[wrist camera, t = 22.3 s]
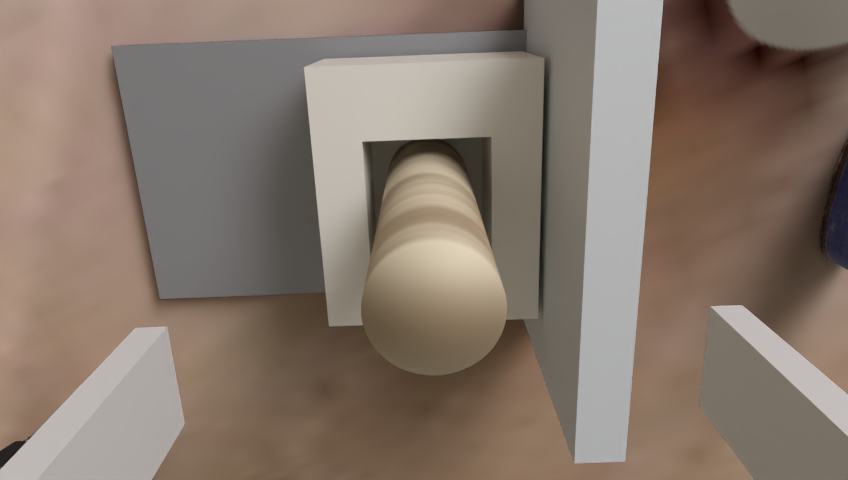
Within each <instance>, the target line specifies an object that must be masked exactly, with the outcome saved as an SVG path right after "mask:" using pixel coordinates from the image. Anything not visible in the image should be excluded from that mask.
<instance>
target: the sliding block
mask: <svg viewBox="0 0 848 480" xmlns="http://www.w3.org/2000/svg"><path fill="white" fill-rule="evenodd" d="M304 73H305V84H306V94H307V104H308V115H309V125H310V136H311V146H312V156H313V167H314V177H315V187H316V198H317V208H318V218H319V229H320V239H321V249H322V260H323V270H324V280H325V291H326V301H327V312H328V322H329V326H356V325H363V323H362V317H361V302H362V296H363V291H364V286H365V281H366V276H367V272H368V267H369V262H370V257H371V252H372V247H373V243H374V238H375V233H376V228H377V223H378V219H379V214H380V209H381V204H382V199H383V194H384V190H385V185H386V180H387V175H388V170H389V166H390V163H391V160H392V158H393V156H394V155H395V153H396V152H397V151H398V150H399V149H400V148H401V147H402V146H403V145H404V144H406V143H407V142H409V141H411V140H419V139H441V140H443V141H445V142H447V143H449V144H450V145H452V146H453V147H454V148H455V149H456V150H457V151H458V152H459V154H460V155H461V157H462V159H463V161H464V164H465V167H466V171H467V174H468V177H469V180H470V183H471V186H472V190H473V193H474V196H475V199H476V202H477V205H478V209H479V212H480V215H481V218H482V221H483V224H484V228H485V231H486V234H487V237H488V240H489V243H490V247H491V250H492V253H493V256H494V259H495V262H496V266H497V269H498V272H499V275H500V278H501V281H502V285H503V288H504V291H505V295H506V300H507V317H506V320H514V319H538V296H539V256H540V217H541V177H542V137H543V97H544V57H540V56H537V55H533V54H530V53H527V52H523V51H512V52H486V53H461V54H435V55H410V56H384V57H358V58H333V59H322V60H320V61H318V62H315V63H313V64H310V65H308V66H305V67H304Z"/></svg>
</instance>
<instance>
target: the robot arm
mask: <svg viewBox="0 0 848 480" xmlns="http://www.w3.org/2000/svg"><path fill="white" fill-rule="evenodd" d="M699 406H700V408H701V409H702V410H703V412H704V413H705V414H706V416H707V417H708V418H709V420H710V421H711V422H712V424H713V425H714V426H715V428H716V429H717V430H718V432H719V433H720V434H721V436H722V437H723V438H724V440H725V441H726V442H727V444H728V445H729V446H730V448H731V449H732V450H733V452H734V453H735V454H736V456H737V457H738V458H739V460H740V461H741V462H742V464H743V465H744V466H745V468H746V469H747V470H748V472H749V473H750V474H751V476H752V477H753V478H754V480H848V394H846V393H845V392H844V391H843V390H842V389H840V388H839V387H838V386H837V385H836V384H835V383H833V382H832V381H831V380H830V379H829V378H828V377H826V376H825V375H824V374H823V373H822V372H820V371H819V370H818V369H817V368H816V367H815V366H813V365H812V364H811V363H810V362H809V361H807V360H806V359H805V358H804V357H803V356H802V355H800V354H799V353H798V352H797V351H796V350H794V349H793V348H792V347H791V346H790V345H789V344H787V343H786V342H785V341H784V340H783V339H782V338H780V337H779V336H778V335H777V334H776V333H774V332H773V331H772V330H771V329H770V328H769V327H767V326H766V325H765V324H764V323H763V322H761V321H760V320H759V319H758V318H757V317H756V316H754V315H753V314H752V313H751V312H750V311H749V310H747V309H746V308H745V307H744V306H743V305H732V306H710V314H709V322H708V331H707V339H706V348H705V357H704V365H703V374H702V383H701V391H700V400H699ZM184 425H185V422H184V416H183V411H182V405H181V400H180V394H179V389H178V383H177V378H176V373H175V367H174V362H173V356H172V351H171V345H170V340H169V334H168V329H167V327H144V328H135V329H134V330H133V331H132V332H131V333H130V334H129V335H128V336H127V337H126V338H125V339H124V340H123V341H122V342H121V344H120V345H119V346H118V347H117V348H116V349H115V350H114V351H113V352H112V353H111V354H110V355H109V356H108V357H107V358H106V359H105V360H104V361H103V362H102V363H101V365H100V366H99V367H98V368H97V369H96V370H95V371H94V372H93V373H92V374H91V375H90V376H89V377H88V378H87V379H86V380H85V381H84V382H83V383H82V384H81V385H80V387H79V388H78V389H77V390H76V391H75V392H74V393H73V394H72V395H71V396H70V397H69V398H68V399H67V400H66V401H65V402H64V403H63V404H62V405H61V406H60V407H59V409H58V410H57V411H56V412H55V413H54V414H53V415H52V416H51V417H50V418H49V419H48V420H47V421H46V422H45V423H44V424H43V425H42V426H41V427H40V428H39V429H38V431H37V432H36V433H35V434H34V435H33V436H32V437H31V438H30V439H29V440H28V441H15V442H14V443H12V444H11V445H9V446H7V447H6V448H4V449H3V450H1V451H0V480H152V479H153V477H154V475H155V474H156V472H157V470H158V469H159V467H160V465H161V464H162V462H163V460H164V459H165V457H166V455H167V454H168V452H169V450H170V449H171V447H172V445H173V444H174V442H175V440H176V438H177V437H178V435H179V433H180V432H181V430H182V428H183V427H184Z"/></svg>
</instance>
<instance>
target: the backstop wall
mask: <svg viewBox="0 0 848 480" xmlns="http://www.w3.org/2000/svg"><path fill="white" fill-rule="evenodd" d="M662 9H663V0H524V30H503V31H477V32H452V33H426V34H401V35H375V36H349V37H324V38H298V39H273V40H247V41H222V42H196V43H171V44H145V45H120V46H111V47H112V53H113V58H114V63H115V68H116V73H117V79H118V84H119V89H120V94H121V99H122V105H123V110H124V115H125V120H126V126H127V131H128V136H129V141H130V146H131V152H132V157H133V162H134V167H135V172H136V178H137V183H138V188H139V193H140V198H141V204H142V209H143V214H144V219H145V224H146V230H147V235H148V240H149V245H150V250H151V256H152V261H153V266H154V271H155V277H156V282H157V287H158V292H159V297H160V299H175V298H201V297H227V296H253V295H280V294H306V293H326V291H325V280H324V270H323V260H322V249H321V239H320V229H319V218H318V208H317V198H316V187H315V177H314V167H313V156H312V146H311V136H310V125H309V115H308V104H307V94H306V84H305V73H304V67H305V66H308V65H310V64H313V63H315V62H318V61H320V60H322V59H333V58H358V57H384V56H410V55H435V54H461V53H486V52H512V51H523V52H527V53H530V54H533V55H537V56H540V57H544V97H543V137H542V177H541V217H540V256H539V296H538V319H523V320H524V323H525V326H526V329H527V332H528V334H529V337H530V340H531V343H532V346H533V348H534V351H535V354H536V357H537V360H538V363H539V365H540V368H541V371H542V374H543V377H544V379H545V382H546V385H547V388H548V391H549V394H550V396H551V399H552V402H553V405H554V408H555V410H556V413H557V416H558V419H559V422H560V425H561V427H562V430H563V433H564V436H565V439H566V441H567V444H568V447H569V450H570V453H571V456H572V458H573V461H574V463H598V462H625V457H626V445H627V433H628V421H629V409H630V397H631V385H632V372H633V360H634V348H635V336H636V324H637V312H638V300H639V288H640V276H641V264H642V251H643V239H644V227H645V215H646V203H647V191H648V179H649V167H650V155H651V142H652V130H653V118H654V106H655V94H656V82H657V70H658V58H659V46H660V34H661V21H662Z"/></svg>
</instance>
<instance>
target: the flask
mask: <svg viewBox="0 0 848 480" xmlns="http://www.w3.org/2000/svg"><path fill="white" fill-rule="evenodd" d="M842 151H843V153H842V155H841V156H840V158H839V161H838V163H837V165H836V171H835V174H834V175H833V179H832V182H833V184H832V187H831V190H830V192H829V197H828V201H827V204H826V207H825V215H824V217H823V219H824V220H823V221H822V228H821V231H820V232H821V233H820V235H821V236H820V239H821V245H820V246H821V248H822V252H823V253H824V254H825V255H826V256H827V258H828V259H829V260H830V261H832V262H834V263H836V264H839V265H840V266H842V267H844V268H845V269H848V141H847V143H846V145H845V146H844V148H843V150H842Z"/></svg>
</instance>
